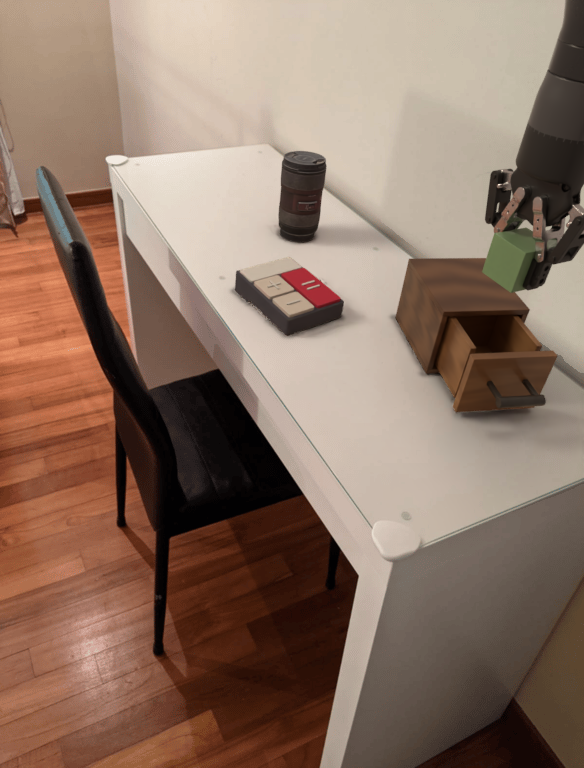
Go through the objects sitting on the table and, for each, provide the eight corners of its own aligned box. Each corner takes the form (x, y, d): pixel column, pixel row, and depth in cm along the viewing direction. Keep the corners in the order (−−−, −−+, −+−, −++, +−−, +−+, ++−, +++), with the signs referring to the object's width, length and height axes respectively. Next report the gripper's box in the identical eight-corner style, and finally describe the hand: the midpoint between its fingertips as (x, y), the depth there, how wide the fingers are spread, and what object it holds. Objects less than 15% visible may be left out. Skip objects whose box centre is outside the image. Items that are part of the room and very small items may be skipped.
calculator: (289, 316, 89) (235, 266, 98) (286, 339, 92) (233, 289, 100) (346, 297, 95) (290, 252, 103) (341, 320, 98) (287, 274, 106)
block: (512, 265, 74) (526, 227, 71) (542, 285, 71) (558, 246, 68) (481, 272, 72) (494, 233, 69) (511, 293, 69) (525, 253, 66)
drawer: (550, 431, 79) (576, 378, 73) (469, 436, 77) (489, 382, 71) (492, 348, 92) (510, 298, 87) (421, 351, 90) (435, 300, 85)
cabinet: (506, 370, 90) (530, 309, 83) (425, 374, 88) (443, 311, 81) (467, 315, 101) (485, 257, 94) (395, 317, 98) (408, 258, 92)
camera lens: (323, 231, 121) (333, 155, 111) (309, 248, 115) (318, 168, 105) (285, 222, 123) (292, 146, 113) (270, 237, 117) (275, 159, 107)
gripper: (653, 147, 57) (582, 301, 68) (541, 102, 67) (495, 244, 78) (599, 154, 54) (534, 314, 65) (490, 105, 64) (449, 252, 75)
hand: (513, 275), depth 71 cm, fingers closed on block, 5 cm apart
